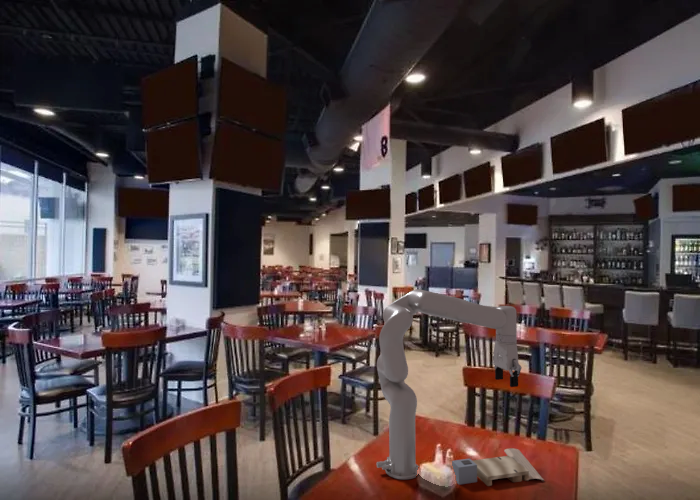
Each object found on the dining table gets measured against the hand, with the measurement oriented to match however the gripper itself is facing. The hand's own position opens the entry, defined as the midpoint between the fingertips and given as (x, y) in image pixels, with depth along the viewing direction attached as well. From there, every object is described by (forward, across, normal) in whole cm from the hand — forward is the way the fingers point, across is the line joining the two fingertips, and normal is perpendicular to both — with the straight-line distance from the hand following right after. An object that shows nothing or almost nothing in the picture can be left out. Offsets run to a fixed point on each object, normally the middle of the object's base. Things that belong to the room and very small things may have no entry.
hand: (506, 382), depth 172 cm
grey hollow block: (+30, +10, -23) cm, 39 cm away
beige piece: (+30, +6, +2) cm, 31 cm away
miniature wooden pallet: (+29, +10, -10) cm, 32 cm away
